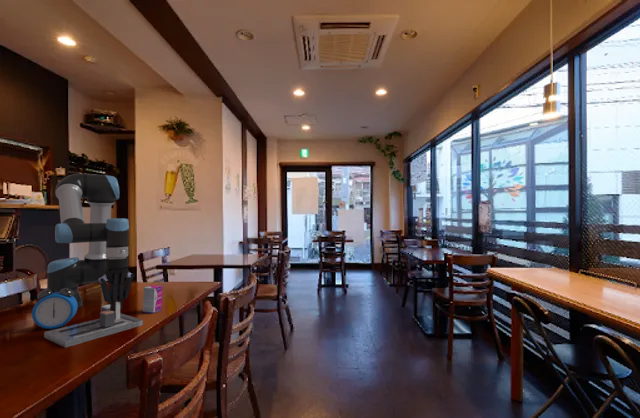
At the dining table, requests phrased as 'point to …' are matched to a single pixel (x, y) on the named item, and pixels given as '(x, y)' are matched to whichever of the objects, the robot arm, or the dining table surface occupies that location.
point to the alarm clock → (54, 308)
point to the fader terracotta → (106, 318)
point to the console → (90, 330)
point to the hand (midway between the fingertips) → (116, 318)
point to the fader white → (106, 307)
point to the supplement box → (152, 299)
